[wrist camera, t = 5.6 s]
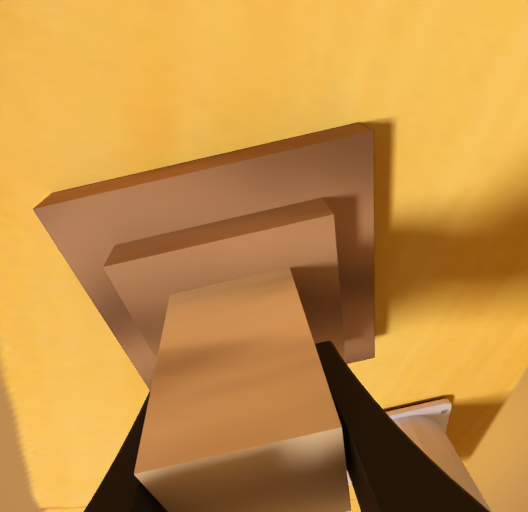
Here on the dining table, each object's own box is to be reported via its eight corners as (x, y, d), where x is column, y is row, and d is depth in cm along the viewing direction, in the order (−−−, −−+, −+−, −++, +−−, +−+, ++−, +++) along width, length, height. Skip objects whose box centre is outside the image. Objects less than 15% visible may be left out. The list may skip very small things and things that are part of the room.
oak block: (304, 348, 14) (351, 510, 9) (205, 371, 14) (198, 544, 9) (289, 267, 12) (342, 427, 7) (170, 294, 12) (133, 474, 7)
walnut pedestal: (364, 337, 19) (386, 381, 16) (164, 382, 19) (155, 433, 16) (357, 122, 12) (393, 140, 10) (51, 193, 12) (8, 229, 10)
